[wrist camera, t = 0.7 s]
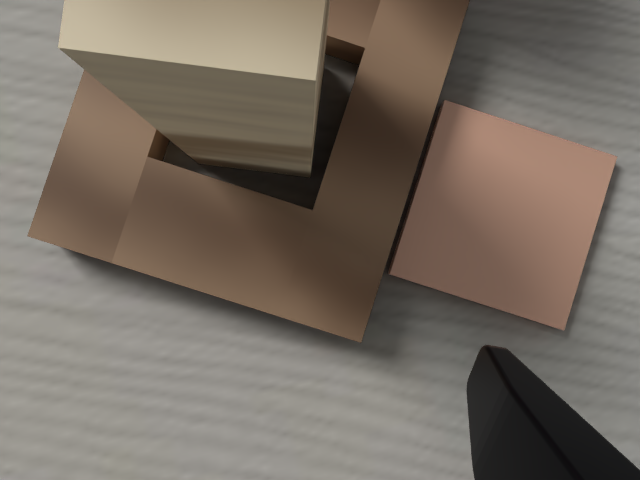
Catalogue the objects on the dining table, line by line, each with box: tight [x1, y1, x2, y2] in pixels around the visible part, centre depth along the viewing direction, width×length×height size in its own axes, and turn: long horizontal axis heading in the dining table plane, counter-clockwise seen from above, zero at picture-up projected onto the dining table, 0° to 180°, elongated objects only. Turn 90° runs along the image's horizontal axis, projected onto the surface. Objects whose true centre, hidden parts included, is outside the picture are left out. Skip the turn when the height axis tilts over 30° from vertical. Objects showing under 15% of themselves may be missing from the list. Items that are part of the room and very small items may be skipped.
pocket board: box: [28, 0, 470, 343], centre depth 22 cm, size 16×14×2 cm
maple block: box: [58, 0, 330, 177], centre depth 17 cm, size 5×5×13 cm
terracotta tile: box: [388, 100, 617, 330], centre depth 23 cm, size 8×8×1 cm
